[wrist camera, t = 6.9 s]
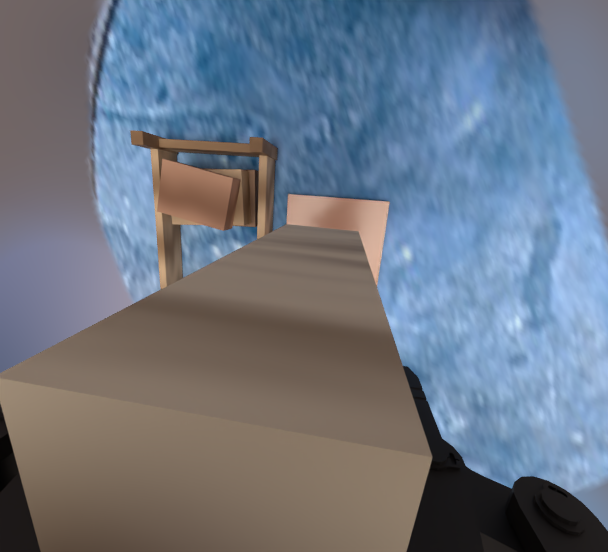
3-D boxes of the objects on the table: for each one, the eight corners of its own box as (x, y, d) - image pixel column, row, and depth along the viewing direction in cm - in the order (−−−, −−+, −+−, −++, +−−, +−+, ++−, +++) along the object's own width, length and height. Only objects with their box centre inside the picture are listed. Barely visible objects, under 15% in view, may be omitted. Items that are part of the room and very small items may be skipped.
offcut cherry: (175, 161, 29) (162, 158, 27) (241, 179, 29) (232, 178, 26) (169, 210, 30) (156, 211, 28) (231, 228, 30) (223, 230, 28)
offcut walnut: (186, 169, 34) (175, 167, 31) (260, 171, 33) (254, 169, 30) (190, 221, 35) (180, 222, 33) (261, 224, 34) (255, 226, 32)
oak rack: (167, 142, 33) (130, 130, 27) (277, 148, 31) (262, 137, 26) (177, 321, 39) (149, 342, 33) (269, 333, 37) (256, 357, 32)
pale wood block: (286, 224, 16) (-6, 376, 3) (358, 231, 16) (432, 457, 2) (278, 349, 18) (99, 765, 5) (340, 359, 18) (325, 842, 5)
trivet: (289, 194, 32) (288, 194, 32) (388, 201, 31) (389, 201, 30) (284, 286, 35) (283, 288, 35) (374, 296, 34) (375, 298, 33)
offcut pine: (178, 171, 32) (165, 170, 29) (248, 171, 31) (241, 169, 28) (184, 222, 33) (172, 224, 31) (251, 223, 32) (244, 225, 30)
